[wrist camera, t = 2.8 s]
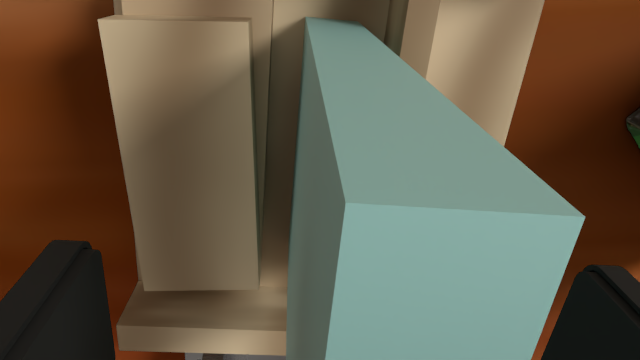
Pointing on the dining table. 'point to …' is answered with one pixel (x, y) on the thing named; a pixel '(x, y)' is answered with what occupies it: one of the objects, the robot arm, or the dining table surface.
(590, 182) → the dining table surface
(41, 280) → the robot arm
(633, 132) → the chalk box
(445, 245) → the teal rectangular slab
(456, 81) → the rack
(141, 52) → the beige rectangular block
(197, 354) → the stand
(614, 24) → the dining table surface
